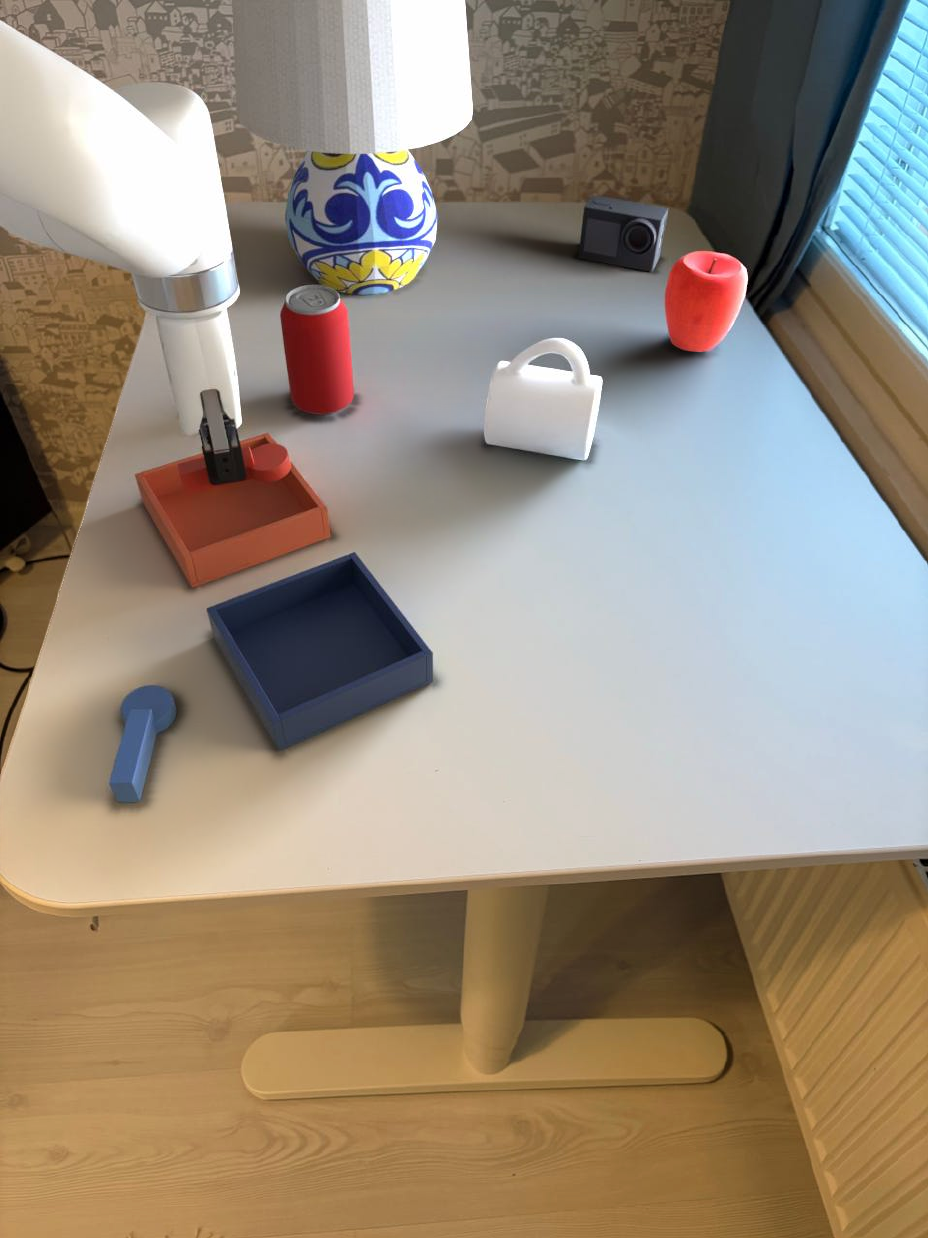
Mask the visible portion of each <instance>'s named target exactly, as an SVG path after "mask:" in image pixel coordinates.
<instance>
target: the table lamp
mask: <svg viewBox="0 0 928 1238" xmlns="http://www.w3.org/2000/svg"><path fill="white" fill-rule="evenodd" d="M231 8H232V9H231V10H232V11H231V12H232V33H233V35H232V36H233V59H234V62H233V63H234V78H235V79H234V83H235V85H234V86H235V104H236V105H235V108H236V109H235V110H236V117H237V119H238V121H239V123H240V125H241V126H242V127H244V129H246V130H247V131H248V133H251V134H253V135H255V136H256V137H259V138H260V139H262V140H265V141H268V142H270V143H273V144H276V145H279V146H283V147H287V148H291V149H296V150H301V151H306V153H305V154H304V157H303V159H302V161H301V162H300V164H299V166H298V167H297V169H296V171H295V173H294V176H293V179H292V182H291V184H290V188H289V191H288V194H287V201H286V208H285V217H284V218H285V225H286V226H285V227H286V232H287V238H288V240H289V243H290V245H291V247H292V249H293V251H294V252H295V254H296V256H297V257H298V259H299V261H300V263H301V264H302V266H304V267H305V269H306V270H307V271H308V273H310V275H311V276H312V277H313V278H314V280H316V281H317V282H318V283H319V285H323V286H327V287H330V288H332V289H334V290H336V291H337V292H338V293H343V294H349V295H361V296H364V295H365V296H366V295H367V296H368V295H378V294H385V293H388V292H393V291H395V290H399V289H400V288H403V287H404V286H406V285H408V284H409V283H410V282H412V281H413V280H414V279H415V278H416V275H417V274H418V273H419V271H420V270H421V269H422V267H423V266H424V264H425V263H426V261H427V259H428V257H429V255H430V253H431V251H432V249H433V247H434V244H435V242H436V239H437V229H438V213H437V208H436V204H435V201H434V197H433V196H434V195H433V192H432V189H431V187H430V185H429V182H428V181H427V178H426V176H425V173H424V171H423V170H422V168H421V166H420V165H419V163H418V162H417V161H416V160H415V158H414V156H413V155H412V154H411V152H410V151H409V150H412V149H417V148H422V147H426V146H429V145H433V144H435V143H439V142H442V141H444V140H446V139H448V138H450V137H453V136H455V135H456V134H458V133H459V132H461V131H462V130H464V128H466V127H467V126H468V125H469V123H470V122H471V121H472V119H473V112H474V110H473V109H474V108H473V96H472V95H473V93H472V83H471V81H472V79H471V66H470V53H469V38H468V26H467V25H468V24H467V12H466V11H467V10H466V0H231Z"/></svg>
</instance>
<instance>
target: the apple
mask: <svg viewBox="0 0 928 1238" xmlns="http://www.w3.org/2000/svg"><path fill="white" fill-rule="evenodd" d="M748 278H749V277H748V272H747V268H746V267H745V265H743V263H741V262H740V261H739V260H738V259H737V258H735V257H733V256H731V255H729V254H727V253H720V252H715V251H707V250H700V251H699V250H697V251H693V252H690V253H688V254H686V255H683V256H681V257H680V258H679V259H678V260H677V261H676V262H674V263H673V265H672V267H671V269H670V271H669V274H668V277H667V282H666V285H665V290H664V311H665V322H666V327H667V331H668V332H667V333H668V335H669V339H670V341H671V344H672V346H673V345H674V347H676V348H678V349H681V350H682V351H686V352H694V353H696V352H697V353H703V352H708V351H711V350H713V349H714V348H715V347H716V346H717V345H718V344H720V342H721V341H722V340H723V339H725V337H726V336H727V335H728V332H729V331H730V330H731V328H732V327H733V325H734V323H735V321H736V319H737V317H738V315H739V314H740V310H741V308H742V305H743V302H744V300H745V297H746V293H747V288H748V287H747V285H748V281H749V279H748Z"/></svg>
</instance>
